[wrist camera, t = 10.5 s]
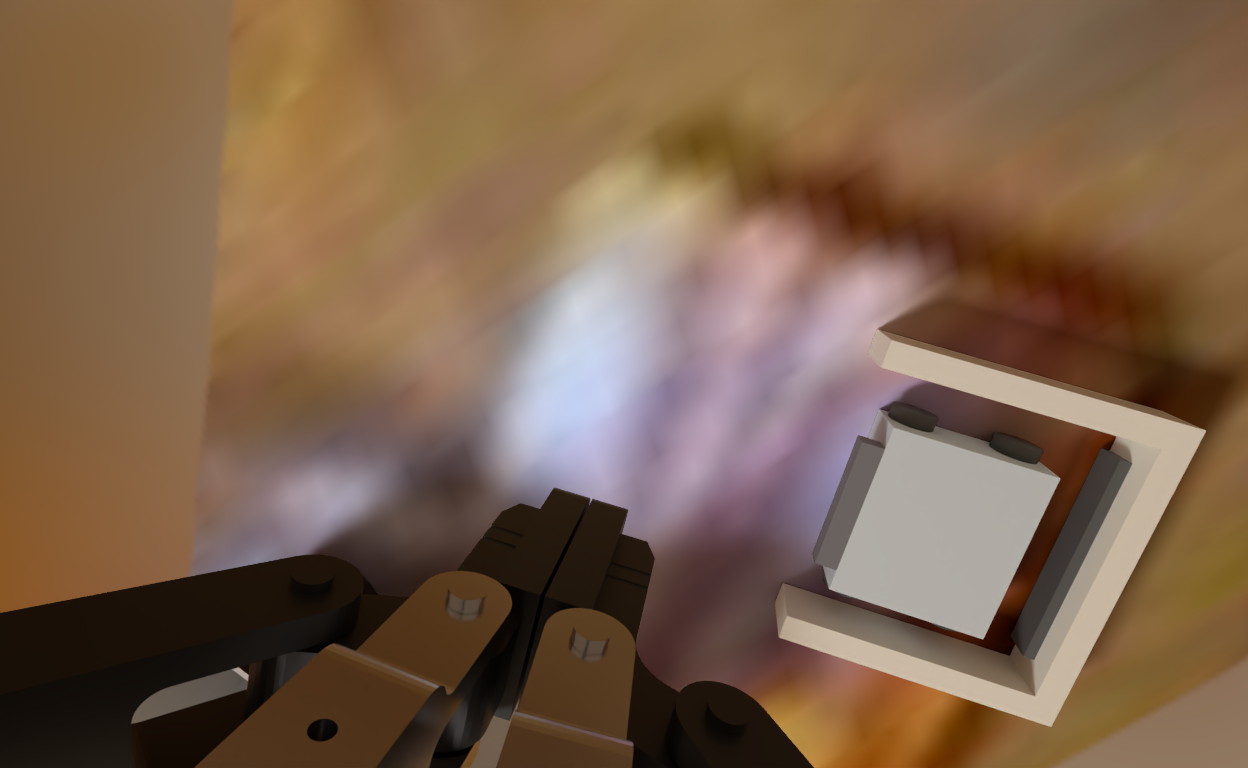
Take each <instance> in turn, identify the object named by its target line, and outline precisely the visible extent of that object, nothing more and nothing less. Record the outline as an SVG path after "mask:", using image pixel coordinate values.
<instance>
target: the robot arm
mask: <svg viewBox="0 0 1248 768" xmlns="http://www.w3.org/2000/svg"><path fill="white" fill-rule="evenodd" d="M589 504H590V505H589ZM627 513H628V509H624V508H621V507H618V506H614V505H611V504H608V503H604V502H601V501H598V500H595V499H592V501H591V503H590V498H588V497H584V496H581V495H578V494H574V493H571V492H568V491H564V490H561V489H558V488H554V489H553V490H552V492H551V493H550V495H549V496H548V498H547V499H546V501H545V502H544V504H543V506H542V507H541V509H538V508H534V507H531V506H528V505H525V504H518V505H516V506H514V507H512V508H509V509H507V510H505V511H502V512H501V514H500V515H499V516H498V517H497V519H496V520H495V521H494V523H493V524H492V526H491V528H489V529H488V531H487V532H486V533H485V534H484V536H483V539H481V540H480V541H479V542H478V544H477V545H476V546H475V548H474V549H473V550H472V552H471V553H470V554H469V555H468V557H467V558H466V559H465V561H464V562H463V563H462V565H461V566H460V567H459V569H458V570H457V571H451V572H445V573H441V574H438V575H435V576H433V577H431V578H429V579H428V580H427V581H426V582H424V583H423V584H422V585H421V586H420V587H419V588H418V589H417V590H416V591H415V592H414V593H413V594H412V595H411V596H410V597H392V596H381V595H371V594H362V592H363V584H364V581H363V576H362V575H361V573H360V571H359V570H358V569H357V568H356V567H354V566H353V565H352V564H350V563H348V562H346V561H344V560H341V559H338V558H335V557H331V556H324V555H302V556H295V557H290V558H285V559H279V560H274V561H269V562H264V563H258V564H253V565H248V566H243V567H238V568H232V569H227V570H222V571H217V572H212V573H206V574H201V575H196V576H191V577H186V578H180V579H175V580H170V581H165V582H160V583H155V584H150V585H144V586H139V587H133V588H128V589H123V590H118V591H113V592H107V593H102V594H97V595H93V596H87V597H81V598H76V599H71V600H66V601H61V602H55V603H50V604H45V605H40V606H35V607H29V608H24V609H19V610H14V611H9V612H3V613H0V768H470V767H471V765H472V763H473V762H474V760H475V758H476V756H477V753H478V749H479V744H480V740H481V738H482V737H483V735H484V734H485V732H486V730H487V728H488V726H489V724H490V722H491V720H492V718H493V716H496V717H499V718H502V719H505V720H508V721H510V719H511V716H512V714H513V712H514V710H515V707H516V705H517V703H518V701H519V703H518V707H517V710H515V712H514V714H513V717H512V720H511V723H510V726H509V729H508V732H507V735H506V738H505V741H504V744H503V748H502V751H501V754H500V757H499V760H498V763H497V766H496V768H814V767H813V766H812V765H811V764H810V763H809V761H808V760H807V759H806V758H805V757H804V755H803V754H802V753H801V752H800V751H799V750H798V748H797V747H796V746H795V745H794V744H793V743H792V741H791V740H790V739H789V738H788V737H787V735H786V734H785V733H784V732H783V731H782V730H781V728H780V727H779V726H778V725H777V724H776V722H775V721H774V720H773V719H772V718H771V717H770V715H769V714H768V713H767V712H766V711H765V710H764V708H763V707H762V706H761V705H760V704H759V703H758V702H757V701H755V700H754V699H753V698H752V697H750V696H749V695H747V694H746V693H744V692H743V691H741V690H739V689H737V688H735V687H732V686H730V685H727V684H723V683H720V682H714V681H700V682H695V683H692V684H689V685H687V686H686V687H684V688H683V689H682V690H681V691H680V693H679V692H678V691H676V690H674V689H672V688H671V687H669V686H667V685H666V684H664V683H663V682H661V681H660V680H659V679H657V678H656V677H655V676H654V675H652V674H651V672H650V671H649V670H648V669H647V668H646V667H645V666H644V664H643V663H642V661H641V660H640V658H639V656H638V653H637V650H636V638H637V633H638V629H639V625H640V620H641V616H642V612H643V607H644V603H645V599H646V594H647V589H648V586H649V581H650V576H651V573H652V568H653V564H654V560H655V558H654V556H653V554H652V551H651V549H650V547H649V545H648V543H647V542H646V541H643V540H639V539H636V538H633V537H630V536H626V535H623V534H622V532H623V528H624V524H625V521H626V517H627ZM249 664H250V667H249V676H248V685H247V689H246V690H243V691H239V692H236V693H233V694H229V695H226V696H223V697H220V698H216V699H213V700H210V701H207V702H203V703H200V704H197V705H194V706H190V707H187V708H184V709H181V710H177V711H174V712H171V713H167V714H164V715H161V716H158V717H154V718H151V719H148V720H145V721H141V722H138V723H132V718H133V715H134V713H135V711H136V710H137V708H138V707H139V706H140V705H141V704H142V703H143V702H144V701H145V700H146V699H147V698H149V697H150V696H151V695H153V694H155V693H157V692H158V691H161V690H163V689H165V688H168V687H171V686H175V685H178V684H182V683H185V682H189V681H192V680H196V679H200V678H203V677H207V676H210V675H214V674H217V673H221V672H224V671H228V670H231V669H235V668H238V667H242V666H245V665H249ZM519 698H520V699H519Z"/></svg>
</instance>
